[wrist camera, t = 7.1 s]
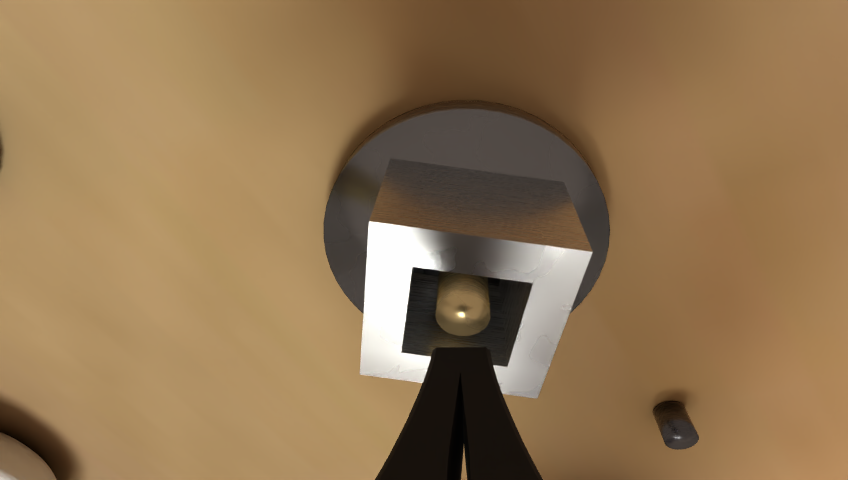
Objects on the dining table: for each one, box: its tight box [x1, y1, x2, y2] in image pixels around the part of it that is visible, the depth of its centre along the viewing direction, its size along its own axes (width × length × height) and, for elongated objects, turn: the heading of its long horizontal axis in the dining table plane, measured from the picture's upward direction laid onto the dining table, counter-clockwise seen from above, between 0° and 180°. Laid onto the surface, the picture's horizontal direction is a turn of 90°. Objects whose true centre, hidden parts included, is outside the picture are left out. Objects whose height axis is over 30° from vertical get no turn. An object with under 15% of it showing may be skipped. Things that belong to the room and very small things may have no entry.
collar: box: [360, 158, 593, 398], centre depth 15 cm, size 6×6×4 cm
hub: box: [324, 101, 610, 336], centre depth 16 cm, size 10×10×4 cm
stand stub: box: [653, 401, 699, 449], centre depth 21 cm, size 1×1×2 cm
